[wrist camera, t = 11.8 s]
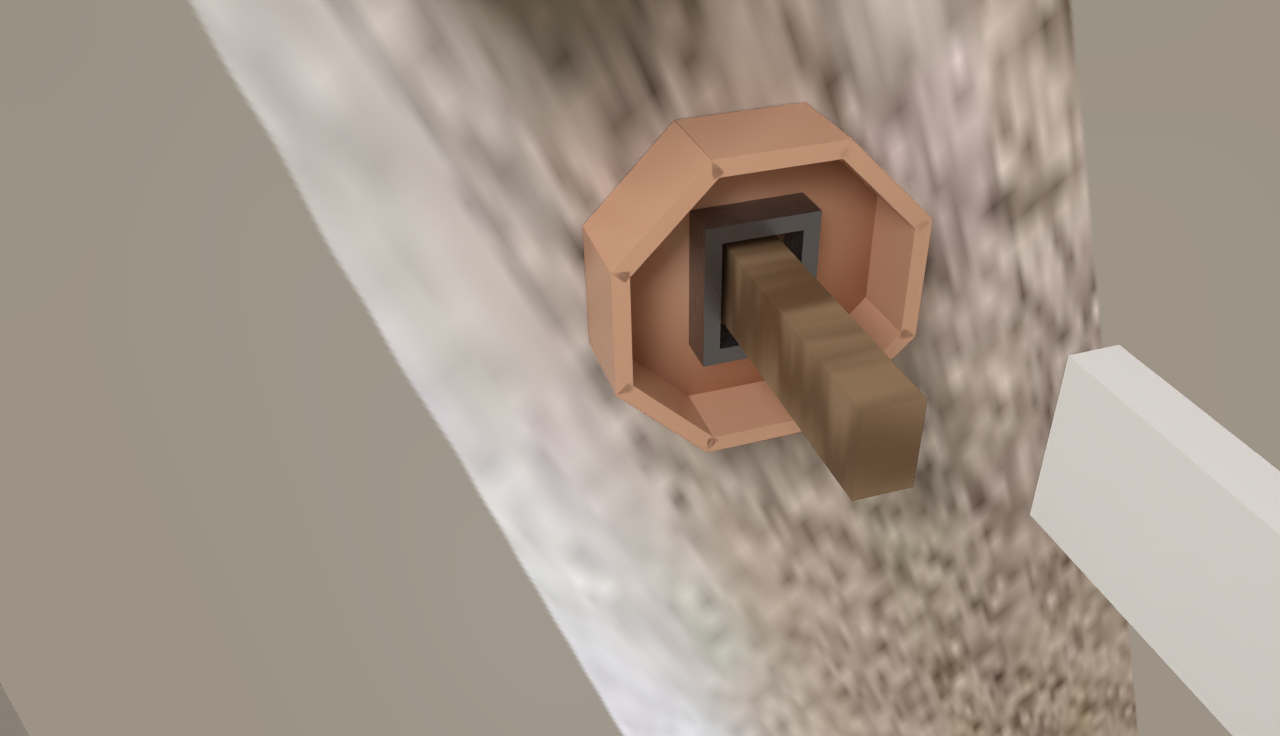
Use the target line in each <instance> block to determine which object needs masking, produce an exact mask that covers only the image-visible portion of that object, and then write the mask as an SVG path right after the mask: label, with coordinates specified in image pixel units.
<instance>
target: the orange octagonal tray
mask: <svg viewBox="0 0 1280 736" xmlns="http://www.w3.org/2000/svg"><path fill="white" fill-rule="evenodd" d="M802 192H803V193H804V194H805V195H806V196H807V197H808V198H809V199H810V200H811V201H812V202H813V203H814V204H816V205H817V206H818V207H819V208H820V209H821V210H822V217H821V229H820V241H819V254H818V266H817V278H816V279H817V280H818V281H819V282H820V283H821V284H822V286H823V287H824V288H825V289H826V290H827V291H828V292H829V293H830V294H831V295H832V296H833V297H834V299H835V300H836V301H837V302H838V303H839V304H840V305H841V306H842V307H843V308H844V309H845V311H846V312H847V313H848V314H849V315H850V316H851V317H852V318H853V319H854V320H855V321H856V322H857V324H858V325H859V326H860V327H861V328H862V329H863V330H864V331H865V332H866V333H867V334H868V335H869V337H870V338H871V339H872V340H873V341H874V342H875V343H876V344H877V345H878V346H879V347H880V348H881V350H882V351H883V352H884V353H885V354H886V355H887V356H888V357H889V358H890V359H891V360H892V359H893V358H894V357H895V356H896V355H897V354H898V353H899V352H900V351H901V350H902V349H903V348H904V347H905V346H906V345H907V344H908V343H909V342H910V341H911V340H912V339H913V338H914V337H915V336H916V329H917V322H918V315H919V308H920V302H921V295H922V288H923V281H924V274H925V268H926V261H927V254H928V247H929V240H930V233H931V227H932V218H931V217H930V216H929V215H928V214H927V213H926V212H925V211H924V210H923V209H922V208H921V207H920V206H919V205H918V204H917V203H916V202H915V201H914V200H913V199H912V198H911V197H910V196H909V195H908V194H907V193H906V192H905V191H904V190H903V189H902V188H901V187H900V186H899V185H898V184H897V183H896V182H895V181H894V180H893V179H892V178H891V177H890V176H889V175H888V174H887V173H886V172H885V171H884V170H883V169H882V168H881V167H880V166H879V165H878V164H877V163H876V162H875V161H874V160H873V159H872V158H871V157H870V156H869V155H868V154H867V153H866V152H865V151H864V150H863V149H862V148H861V147H860V146H859V145H858V144H857V143H856V142H855V141H854V140H853V139H851V138H850V137H849V136H848V135H846V134H845V133H844V132H843V131H841V130H840V129H839V128H838V127H836V126H835V125H834V124H832V123H831V122H830V121H829V120H827V119H826V118H825V117H824V116H822V115H821V114H820V113H819V112H817V111H816V110H815V109H814V108H812V107H811V106H810V105H808V104H807V103H805V102H803V103H796V104H789V105H781V106H774V107H767V108H759V109H752V110H745V111H737V112H730V113H723V114H716V115H708V116H701V117H694V118H686V119H679V120H675V121H673V123H672V124H671V125H670V126H669V127H668V128H667V129H666V131H665V132H664V133H663V134H662V135H661V136H660V138H659V139H658V140H657V141H656V142H655V143H654V144H653V146H652V147H651V148H650V149H649V150H648V151H647V153H646V154H645V155H644V156H643V157H642V158H641V159H640V161H639V162H638V163H637V164H636V165H635V166H634V167H633V169H632V170H631V171H630V172H629V173H628V174H627V176H626V177H625V178H624V179H623V180H622V181H621V182H620V184H619V185H618V186H617V187H616V188H615V189H614V191H613V192H612V193H611V194H610V195H609V196H608V197H607V199H606V200H605V201H604V202H603V203H602V204H601V206H600V207H599V208H598V209H597V210H596V211H595V212H594V214H593V215H592V216H591V217H590V218H589V219H588V221H587V222H586V223H585V224H584V225H583V245H584V262H585V279H586V296H587V313H588V331H589V343H590V345H591V347H592V349H593V351H594V353H595V355H596V357H597V359H598V361H599V363H600V365H601V367H602V369H603V371H604V373H605V374H606V376H607V378H608V380H609V382H610V384H611V386H612V388H613V390H614V392H615V394H616V396H617V397H619V398H621V399H622V400H624V401H625V402H627V403H629V404H630V405H632V406H633V407H635V408H637V409H638V410H640V411H641V412H643V413H645V414H646V415H648V416H649V417H651V418H653V419H654V420H656V421H657V422H659V423H661V424H662V425H664V426H665V427H667V428H669V429H670V430H672V431H673V432H675V433H677V434H678V435H680V436H681V437H683V438H685V439H686V440H688V441H689V442H691V443H693V444H694V445H696V446H697V447H699V448H701V449H702V450H704V451H705V452H711V451H716V450H720V449H725V448H729V447H734V446H739V445H743V444H748V443H753V442H757V441H762V440H767V439H771V438H776V437H781V436H785V435H790V434H794V433H799V432H802V431H801V430H800V428H799V427H798V426H797V424H796V423H795V421H794V420H793V419H792V417H791V416H790V414H789V413H788V412H787V410H786V409H785V408H784V406H783V405H782V403H781V402H780V401H779V399H778V398H777V396H776V395H775V394H774V392H773V391H772V390H771V388H770V387H769V385H768V384H767V383H766V381H765V380H764V378H763V377H762V376H761V374H760V373H759V372H758V370H757V369H756V367H755V366H754V365H753V363H752V362H751V360H750V359H749V358H746V359H741V360H736V361H731V362H726V363H721V364H715V365H710V366H705V367H703V366H702V364H701V363H700V361H699V360H698V358H697V356H696V355H695V353H694V352H693V350H692V349H691V347H690V346H689V211H690V210H694V209H700V208H707V207H713V206H719V205H726V204H732V203H738V202H745V201H751V200H757V199H764V198H770V197H776V196H783V195H789V194H795V193H802ZM776 236H777V237H778V238H779V239H780V240H781V241H782V242H784V234H778V235H776ZM721 324H724V323H723V322H722V320H721Z"/></svg>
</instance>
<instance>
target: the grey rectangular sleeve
mask: <svg viewBox="0 0 1280 736" xmlns="http://www.w3.org/2000/svg"><path fill="white" fill-rule="evenodd" d="M821 217H822V210H821V209H820V208H819V207H818V206H817V205H816V204H814V203H813V202H812V201H811V200H810V199H809V198H808V197H807V196H806V195H805V194H804V193H803V192H802V193H795V194H789V195H783V196H776V197H770V198H764V199H757V200H751V201H745V202H738V203H732V204H726V205H719V206H713V207H707V208H700V209H694V210H690V211H689V346H690V347H691V349H692V350H693V352H694V353H695V355H696V356H697V358H698V360H699V361H700V363H701V364H702V366H703V367H705V366H710V365H715V364H721V363H726V362H731V361H736V360H741V359H746V358H748V356H747V355H746V354H745V352H744V351H743V349H742V348H741V347H740V345H739V344H738V342H737V341H736V340H735V338H734V337H733V335H732V334H731V333H730V331H729V330H728V329H727V327H726V326H725V324H721V283H722V244H724V243H730V242H736V241H742V240H748V239H754V238H760V237H766V236H772V235H778V234H784V242H783V243H784V244H785V245H786V247H787V248H788V249H789V250H790V251H791V252H792V253H793V254H794V255H795V256H796V257H797V258H798V260H799V261H800V262H801V263H802V264H803V265H804V266H805V267H806V268H807V269H808V270H809V271H810V273H811V274H812V275H813V276H814V277H815V278H817V266H818V254H819V241H820V229H821Z"/></svg>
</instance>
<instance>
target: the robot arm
mask: <svg viewBox="0 0 1280 736" xmlns="http://www.w3.org/2000/svg"><path fill="white" fill-rule="evenodd" d="M1030 515H1031V516H1032V517H1033V518H1034V519H1035V520H1036V522H1037V523H1038V524H1039V525H1040V526H1041V527H1042V528H1043V529H1044V530H1045V531H1046V532H1047V534H1048V535H1049V536H1050V537H1051V538H1052V539H1053V540H1054V541H1055V542H1056V543H1057V545H1058V546H1059V547H1060V548H1061V549H1062V550H1063V551H1064V552H1065V553H1066V554H1067V555H1068V557H1069V558H1070V559H1071V560H1072V561H1073V562H1074V563H1075V564H1076V565H1077V566H1078V567H1079V569H1080V570H1081V571H1082V572H1083V573H1084V574H1085V575H1086V576H1087V577H1088V578H1089V579H1090V581H1091V582H1092V583H1093V584H1094V585H1095V586H1096V587H1097V588H1098V589H1099V590H1100V591H1101V593H1102V594H1103V595H1104V596H1105V597H1106V598H1107V599H1108V600H1109V601H1110V602H1111V603H1112V605H1113V606H1114V607H1115V608H1116V609H1117V610H1118V611H1119V612H1120V613H1121V614H1122V615H1123V617H1124V618H1125V619H1126V620H1127V621H1128V622H1129V623H1130V624H1131V625H1132V626H1133V627H1134V629H1135V630H1136V631H1137V632H1138V633H1139V634H1140V635H1141V636H1142V637H1143V638H1144V640H1146V642H1147V643H1148V644H1149V645H1150V646H1151V647H1152V648H1153V649H1154V650H1155V652H1156V653H1157V654H1158V655H1159V656H1160V657H1161V658H1162V659H1163V660H1164V661H1165V662H1166V663H1167V664H1168V666H1169V667H1170V668H1171V669H1172V670H1173V671H1174V672H1175V673H1176V674H1177V676H1178V677H1179V678H1180V679H1181V680H1182V681H1183V682H1184V683H1185V684H1186V685H1187V686H1188V688H1190V690H1191V691H1192V692H1193V693H1194V694H1195V695H1196V696H1197V697H1198V698H1199V700H1200V701H1201V702H1202V703H1203V704H1204V705H1205V706H1206V707H1207V708H1208V709H1209V710H1210V712H1212V714H1213V715H1214V716H1215V717H1216V718H1217V719H1218V720H1219V721H1220V723H1221V724H1222V725H1223V726H1224V727H1225V728H1226V729H1227V730H1228V731H1229V732H1230V733H1231V735H1232V736H1280V471H1279V470H1277V469H1276V468H1275V467H1273V466H1272V465H1271V464H1270V463H1268V462H1267V461H1266V460H1265V459H1263V458H1262V457H1261V456H1260V455H1258V454H1257V453H1256V452H1254V451H1253V450H1252V449H1251V448H1249V447H1248V446H1247V445H1246V444H1244V443H1243V442H1242V441H1241V440H1239V439H1238V438H1237V437H1235V436H1234V435H1233V434H1232V433H1230V432H1229V431H1228V430H1226V429H1225V428H1224V427H1223V426H1221V425H1220V424H1219V423H1218V422H1216V421H1215V420H1214V419H1213V418H1211V417H1210V416H1209V415H1207V414H1206V413H1205V412H1204V411H1202V410H1201V409H1200V408H1198V407H1197V406H1196V405H1195V404H1194V403H1192V402H1191V401H1190V400H1188V399H1187V398H1186V397H1185V396H1183V395H1182V394H1181V393H1179V392H1178V391H1177V390H1176V389H1174V388H1173V387H1172V386H1171V385H1169V384H1168V383H1167V382H1166V381H1164V380H1163V379H1162V378H1160V377H1159V376H1158V375H1157V374H1155V373H1154V372H1153V371H1152V370H1150V369H1149V368H1148V367H1147V366H1145V365H1144V364H1143V363H1141V362H1140V361H1139V360H1138V359H1136V358H1135V357H1134V356H1133V355H1131V354H1130V353H1129V352H1127V351H1126V350H1125V349H1124V348H1122V347H1121V346H1120V345H1116V346H1112V347H1107V348H1102V349H1097V350H1093V351H1088V352H1083V353H1079V354H1074V355H1069V357H1068V361H1067V365H1066V369H1065V373H1064V378H1063V382H1062V386H1061V390H1060V394H1059V398H1058V402H1057V406H1056V410H1055V414H1054V418H1053V423H1052V427H1051V431H1050V435H1049V439H1048V443H1047V447H1046V451H1045V455H1044V459H1043V464H1042V468H1041V472H1040V476H1039V480H1038V484H1037V488H1036V492H1035V496H1034V500H1033V504H1032V509H1031V513H1030ZM0 736H29V734H28V732H27V731H26V729H25V727H24V725H23V723H22V722H21V720H20V718H19V716H18V714H17V712H16V711H15V709H14V707H13V705H12V703H11V702H10V700H9V698H8V696H7V694H6V693H5V691H4V689H3V687H2V685H1V683H0Z"/></svg>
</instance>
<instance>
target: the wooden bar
mask: <svg viewBox="0 0 1280 736" xmlns="http://www.w3.org/2000/svg"><path fill="white" fill-rule="evenodd" d="M721 320H722V322H723V323H724V324H725V326H726V327H727V329H728V330H729V331H730V333H731V334H732V335H733V337H734V338H735V340H736V341H737V342H738V344H739V345H740V347H741V348H742V349H743V351H744V352H745V354H746V355H747V356H748V358H749V359H750V360H751V362H752V363H753V365H754V366H755V367H756V369H757V370H758V372H759V373H760V374H761V376H762V377H763V378H764V380H765V381H766V383H767V384H768V385H769V387H770V388H771V390H772V391H773V392H774V394H775V395H776V396H777V398H778V399H779V401H780V402H781V403H782V405H783V406H784V408H785V409H786V410H787V412H788V413H789V414H790V416H791V417H792V419H793V420H794V421H795V423H796V424H797V426H798V427H799V428H800V430H801V431H802V432H803V434H804V435H805V437H806V438H807V439H808V441H809V442H810V444H811V445H812V446H813V448H814V449H815V450H816V452H817V453H818V455H819V456H820V457H821V459H822V460H823V462H824V463H825V464H826V466H827V467H828V469H829V470H830V471H831V473H832V474H833V475H834V477H835V478H836V480H837V481H838V482H839V484H840V485H841V487H842V488H843V489H844V491H845V492H846V493H847V495H848V496H849V498H850V499H851V500H852V501H854V500H859V499H863V498H867V497H872V496H876V495H880V494H884V493H889V492H893V491H897V490H902V489H906V488H910V487H913V485H914V479H915V473H916V467H917V460H918V454H919V448H920V442H921V436H922V430H923V423H924V417H925V411H926V405H927V398H926V397H925V396H924V395H923V394H922V393H921V392H920V391H919V390H918V389H917V387H916V386H915V385H914V384H913V383H912V382H911V381H910V380H909V379H908V378H907V377H906V376H905V374H904V373H903V372H902V371H901V370H900V369H899V368H898V367H897V366H896V365H895V364H894V363H893V361H892V360H891V359H890V358H889V357H888V356H887V355H886V354H885V353H884V352H883V351H882V350H881V348H880V347H879V346H878V345H877V344H876V343H875V342H874V341H873V340H872V339H871V338H870V337H869V335H868V334H867V333H866V332H865V331H864V330H863V329H862V328H861V327H860V326H859V325H858V324H857V322H856V321H855V320H854V319H853V318H852V317H851V316H850V315H849V314H848V313H847V312H846V311H845V309H844V308H843V307H842V306H841V305H840V304H839V303H838V302H837V301H836V300H835V299H834V297H833V296H832V295H831V294H830V293H829V292H828V291H827V290H826V289H825V288H824V287H823V286H822V284H821V283H820V282H819V281H818V280H817V279H816V278H815V277H814V276H813V275H812V274H811V273H810V271H809V270H808V269H807V268H806V267H805V266H804V265H803V264H802V263H801V262H800V261H799V260H798V258H797V257H796V256H795V255H794V254H793V253H792V252H791V251H790V250H789V249H788V248H787V247H786V245H785V244H784V243H783V242H782V241H781V240H780V239H779V238H778V237H777V236H776V235H772V236H766V237H760V238H754V239H748V240H742V241H736V242H730V243H724V244H722V283H721Z"/></svg>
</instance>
